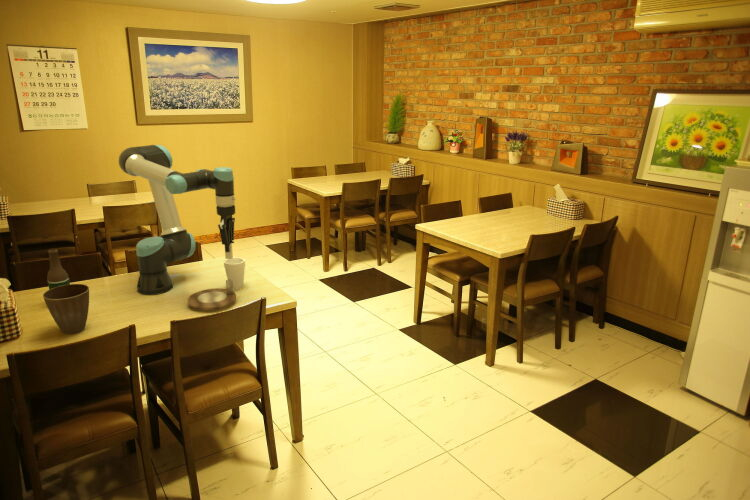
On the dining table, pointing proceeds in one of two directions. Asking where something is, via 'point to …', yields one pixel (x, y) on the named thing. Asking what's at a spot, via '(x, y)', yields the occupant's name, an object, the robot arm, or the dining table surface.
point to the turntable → (213, 298)
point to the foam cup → (235, 271)
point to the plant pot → (68, 306)
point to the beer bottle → (56, 271)
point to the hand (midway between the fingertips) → (229, 258)
